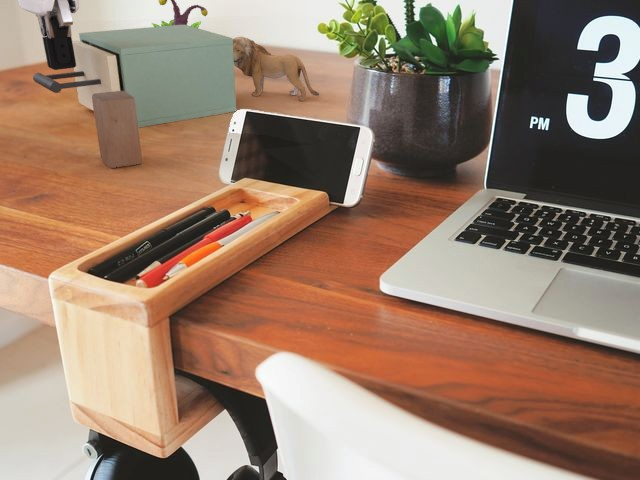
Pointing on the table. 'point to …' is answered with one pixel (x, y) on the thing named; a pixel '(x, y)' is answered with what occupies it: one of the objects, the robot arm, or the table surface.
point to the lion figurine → (268, 66)
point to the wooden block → (117, 128)
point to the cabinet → (173, 71)
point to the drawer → (88, 73)
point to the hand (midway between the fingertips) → (62, 67)
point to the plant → (181, 18)
